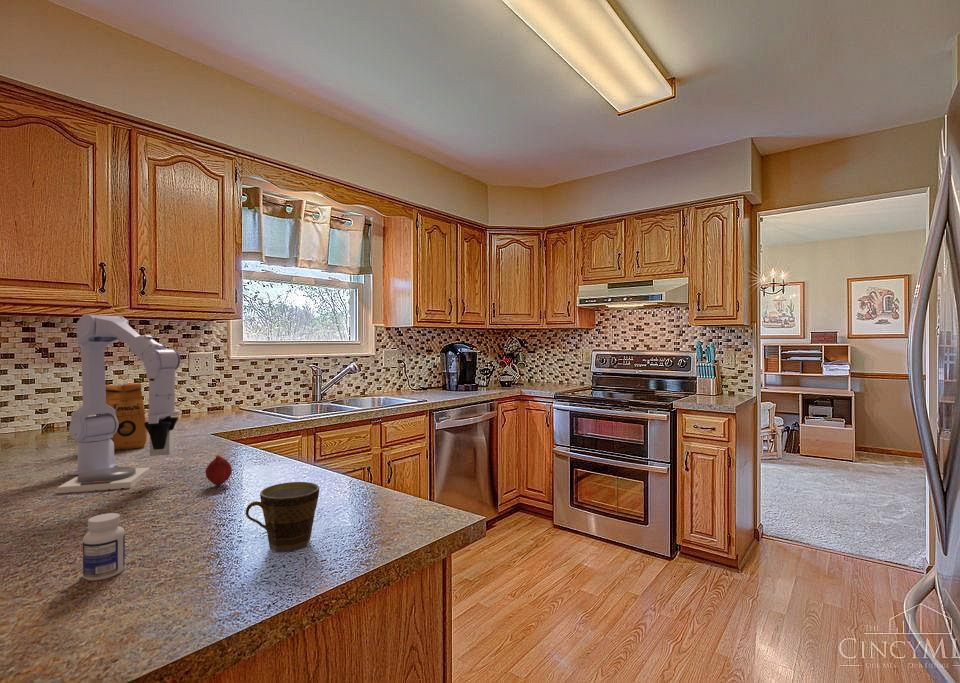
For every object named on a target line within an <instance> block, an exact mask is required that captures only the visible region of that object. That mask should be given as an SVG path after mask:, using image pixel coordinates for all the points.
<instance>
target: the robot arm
mask: <svg viewBox="0 0 960 683" xmlns="http://www.w3.org/2000/svg"><path fill="white" fill-rule="evenodd" d="M76 338H77V339H76V341H77V344H78V345H80V362H81V363H80V364H81V387H82V388H81V389H82V390H81V393H82V405H81V406H80V407H78V408H77V409H76V410H75V411H73V412H72V413H71V417H70V423H69V427H68V431H69V435H70V437H71V438H72V439H73V440H74V442H77V469H76V470H75V471H73V472H71V473H70V476H78V475H80V474H82V473H84V472H87V471H92V470H97V469H103V468H112V467H118V466H119V464H118V463H115V450H114V443H113V441H112V440H111V439H110V438H113V435H114V434H115V433H116V431H117V429H118V420H117V418H116V413H115V409H113V408H112V407H110V406H109V405H107V404H106V386H105V385H106V365H105V364H106V362H105V349H106V348H107V347H108V346H109V345H113V344H114V343H115V342H117V341H118V340H121V341H122V342H123V343H125V344H126V345H128V346H129V348H128V350H129V351H130V353H132V354H133V355H135V356H136V357H137V358H138V359H140V360H141V361H142V362H143V367H144V369H145V371H146V377H147V378H148V412H147V416H148V417H147V418H148V421H146V422H145V423H144V426H145V428H146V429H147V434H149V439H150V438H151V441H152V445H153V448H154V450H155V449H164V446H165V441H166V434H167V431H168V429H174V430H175V425H176V424H177V422H178V420H179V417H178V416H175V415H180V414H181V411H180V410H175V409H176V405H175V404H176V400H175V399H176V395H175V394H176V370H177V369H178V368H179V367H180V365H181V360H182V359H181V355H180V353H179V352H178V350H177V349H176V348H165V347H164V345H163V344H162V343H159V342H157V341H156V340H155V339H153V336H151V335H150V334H142V335H141V334H139V333H138V332H137V331H136V330H135V329H134V328H132V327H131V326H130V324H129V321H128V319H126V318H125V317H124V316H123V315H103V314H102V315H101V314H89V313H85V314H83V315H81V317H80V318H79V319H78V321H76Z"/></svg>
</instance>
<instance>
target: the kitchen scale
mask: <svg viewBox="0 0 960 683" xmlns="http://www.w3.org/2000/svg"><path fill="white" fill-rule="evenodd" d="M149 474H151V467H150V466H149V467H133V466H116V467H112V468H103V469H97V470H92V471H87V472H84V473H82V474H80V475H76V476H75V477H73V478H72V479H70V480H67V481H66V482H64V483H63V484H61V485H59V486H57V494H67V493H70V492H71V493H80V492H81V493H82V492H96V491H95V490H97V491H108V489H110V490H120V489H121V488H124V489H131V488H133V487H134V486H135V485H136V484H138V483H139V482H141V481H142V480H143V479H144V478H145V476H146V477H147V476H148V475H149ZM141 479H142V480H141ZM137 482H138V483H137ZM132 486H133V487H132Z"/></svg>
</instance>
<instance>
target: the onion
mask: <svg viewBox="0 0 960 683" xmlns="http://www.w3.org/2000/svg"><path fill="white" fill-rule="evenodd" d="M232 469H233V468H232V465H231V464H230V462H229V461H228V460H227V459H226V458H224V457H222V456H221V454H219V453H217V454H216V456H215V458H214V459H212V460H211V461H210V463H208V465H207V466H206V469H205V477H206V478H207V480H208V481H209V482H211V483H212V484H213V485H215V486H217V487H220V486H221V485H223V484H224V483H225V482H227V481H228V480H229V478H231V475H232V473H233V472H232V471H233V470H232Z"/></svg>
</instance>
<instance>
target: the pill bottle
mask: <svg viewBox="0 0 960 683" xmlns="http://www.w3.org/2000/svg"><path fill="white" fill-rule="evenodd" d="M120 523H121V517H120V514H119V513H118V512H116V513H114V512H110V513H109V512H108V513H101V514H97V515H95V516H92V517H89V519H88V520H87V530H88V532H87V533H86V534H84V536H83V539H82V578H83V579H85V580H87V581H93V582H95V581H101V580H106V579H109V578H112V577H114V576H117V575H118V574H120V573H122V572H123V571H124V570H125V568H126V544H125V543H126V532H125V529H124V528H123V527H122V526H119V525H120Z"/></svg>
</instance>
